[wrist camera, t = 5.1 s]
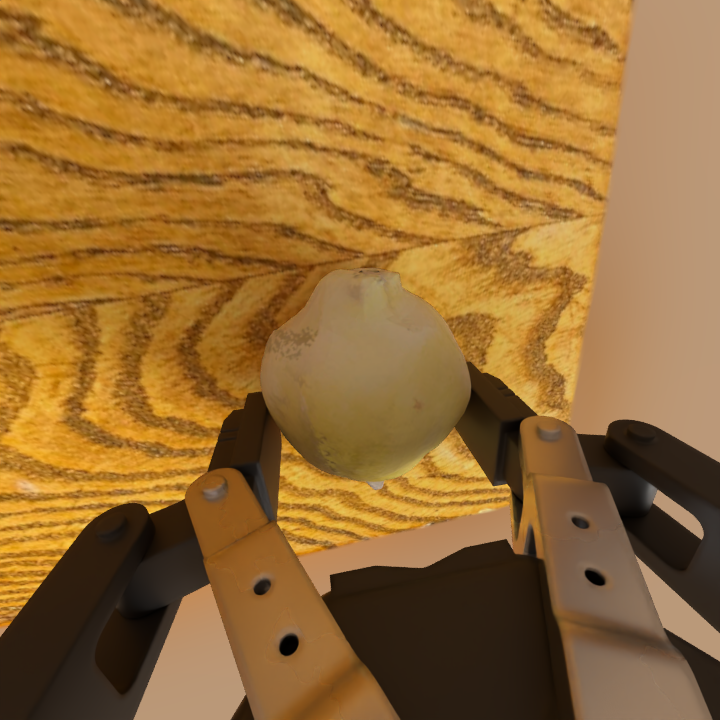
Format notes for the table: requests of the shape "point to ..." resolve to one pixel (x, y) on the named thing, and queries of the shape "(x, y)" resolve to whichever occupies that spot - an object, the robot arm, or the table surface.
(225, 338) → the table surface
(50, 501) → the table surface
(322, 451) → the fruit
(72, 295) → the table surface
